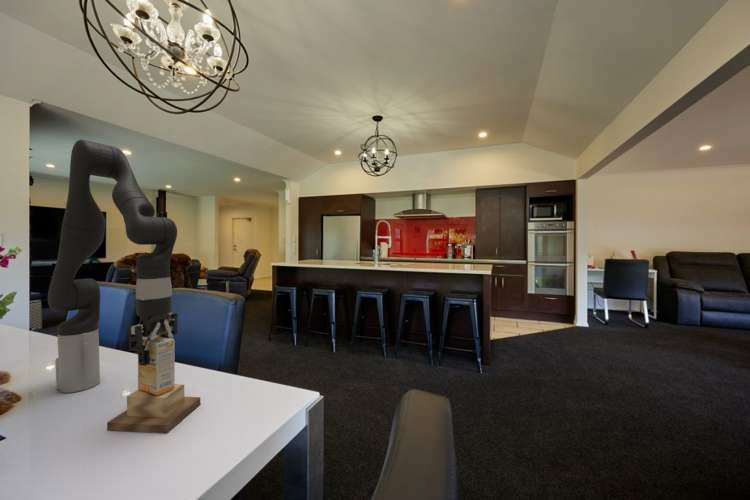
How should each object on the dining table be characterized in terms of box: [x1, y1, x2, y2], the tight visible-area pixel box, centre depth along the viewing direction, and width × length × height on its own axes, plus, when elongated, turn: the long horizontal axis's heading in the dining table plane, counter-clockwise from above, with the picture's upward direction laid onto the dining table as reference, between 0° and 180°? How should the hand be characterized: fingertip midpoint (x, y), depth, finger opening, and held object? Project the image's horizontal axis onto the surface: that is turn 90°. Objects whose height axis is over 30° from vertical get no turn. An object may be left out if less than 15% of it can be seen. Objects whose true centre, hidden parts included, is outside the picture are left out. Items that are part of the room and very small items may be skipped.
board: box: [106, 396, 201, 434], centre depth 82 cm, size 15×13×2 cm
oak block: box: [126, 383, 185, 418], centre depth 82 cm, size 10×7×5 cm
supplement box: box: [137, 335, 176, 395], centre depth 82 cm, size 8×5×13 cm, turn 65°
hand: (155, 358), depth 81 cm, fingers open, 7 cm apart
